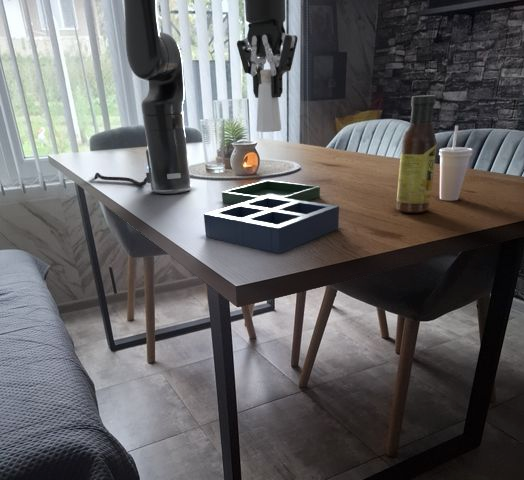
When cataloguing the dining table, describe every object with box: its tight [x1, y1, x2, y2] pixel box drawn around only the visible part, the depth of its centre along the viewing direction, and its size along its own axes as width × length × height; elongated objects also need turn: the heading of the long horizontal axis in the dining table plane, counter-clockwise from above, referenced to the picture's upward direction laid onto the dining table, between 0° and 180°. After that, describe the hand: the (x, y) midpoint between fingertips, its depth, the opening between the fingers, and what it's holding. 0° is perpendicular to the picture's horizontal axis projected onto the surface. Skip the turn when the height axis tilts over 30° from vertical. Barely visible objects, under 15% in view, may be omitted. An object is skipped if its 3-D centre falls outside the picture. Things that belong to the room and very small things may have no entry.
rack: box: [203, 196, 340, 255], centre depth 83 cm, size 16×16×4 cm
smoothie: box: [438, 125, 474, 202], centre depth 98 cm, size 6×6×14 cm
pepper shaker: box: [256, 68, 282, 133], centre depth 98 cm, size 5×5×11 cm
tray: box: [221, 179, 321, 205], centre depth 107 cm, size 15×15×2 cm
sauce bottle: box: [396, 94, 438, 214], centre depth 89 cm, size 7×6×20 cm
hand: (267, 97), depth 97 cm, fingers closed on pepper shaker, 4 cm apart
